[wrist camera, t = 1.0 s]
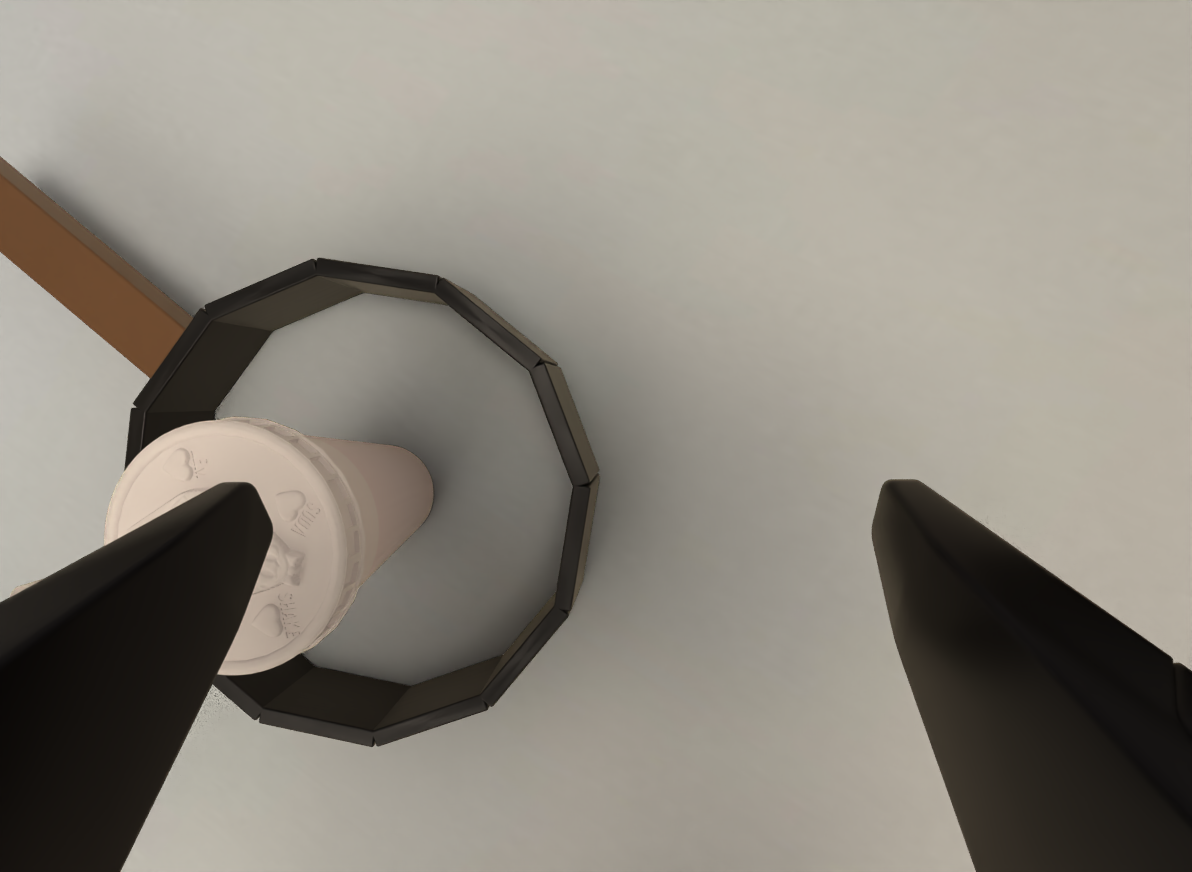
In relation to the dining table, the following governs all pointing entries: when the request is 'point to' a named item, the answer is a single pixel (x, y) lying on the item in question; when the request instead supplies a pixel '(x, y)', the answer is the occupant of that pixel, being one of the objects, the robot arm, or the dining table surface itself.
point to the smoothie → (285, 519)
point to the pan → (208, 371)
